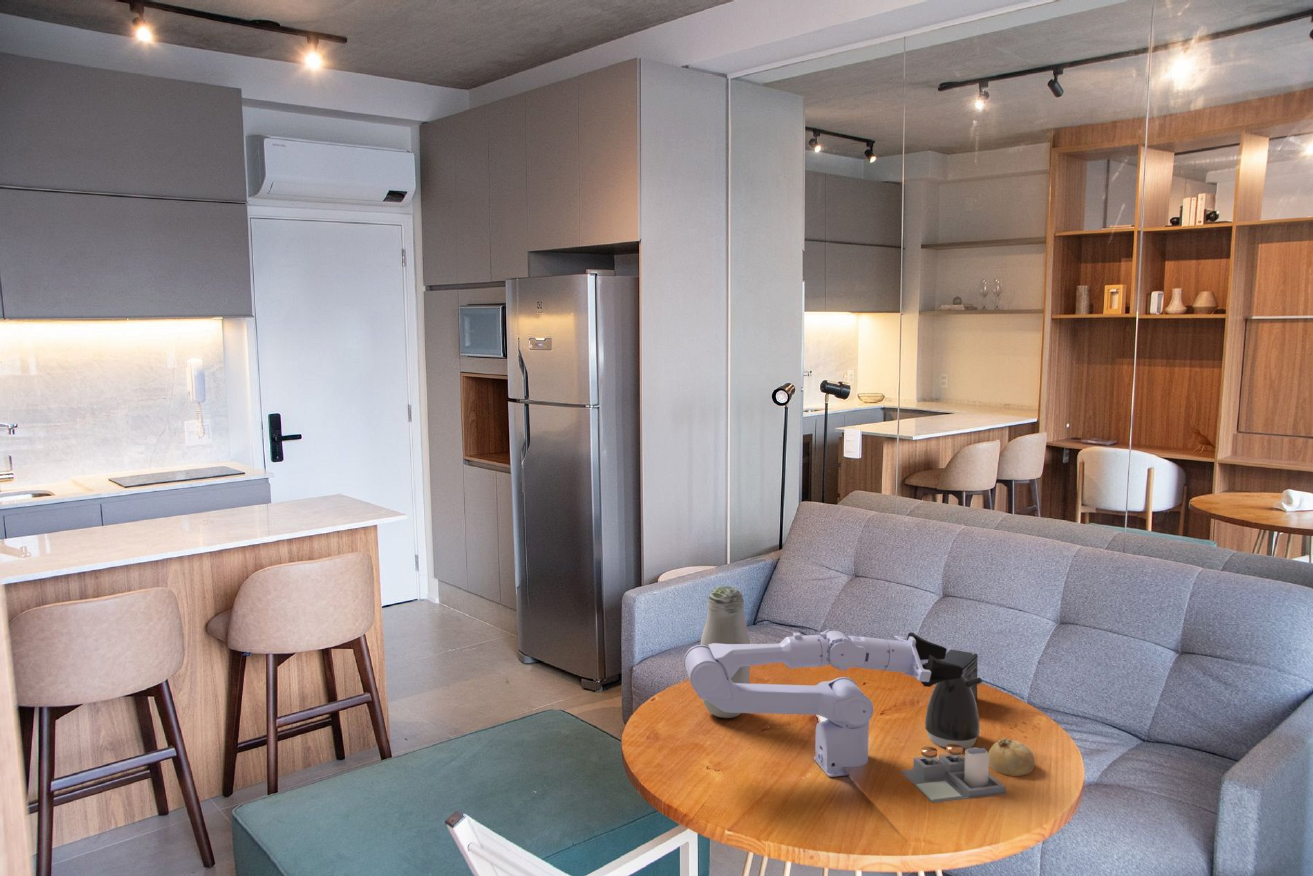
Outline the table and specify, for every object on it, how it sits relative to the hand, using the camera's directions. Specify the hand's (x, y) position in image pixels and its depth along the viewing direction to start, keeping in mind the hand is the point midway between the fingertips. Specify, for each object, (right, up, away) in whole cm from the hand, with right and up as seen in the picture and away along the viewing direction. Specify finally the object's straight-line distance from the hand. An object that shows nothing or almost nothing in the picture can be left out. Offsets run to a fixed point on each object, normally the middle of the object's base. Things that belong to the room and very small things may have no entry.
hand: (952, 662), depth 176 cm
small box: (+10, -16, +29) cm, 35 cm away
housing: (-3, -20, -10) cm, 23 cm away
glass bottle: (-41, -17, +24) cm, 51 cm away
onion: (+9, -20, -4) cm, 22 cm away
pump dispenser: (+2, -19, +8) cm, 20 cm away
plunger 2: (-2, -17, -6) cm, 18 cm away
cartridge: (+1, -19, -11) cm, 22 cm away
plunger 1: (-7, -17, -7) cm, 19 cm away
